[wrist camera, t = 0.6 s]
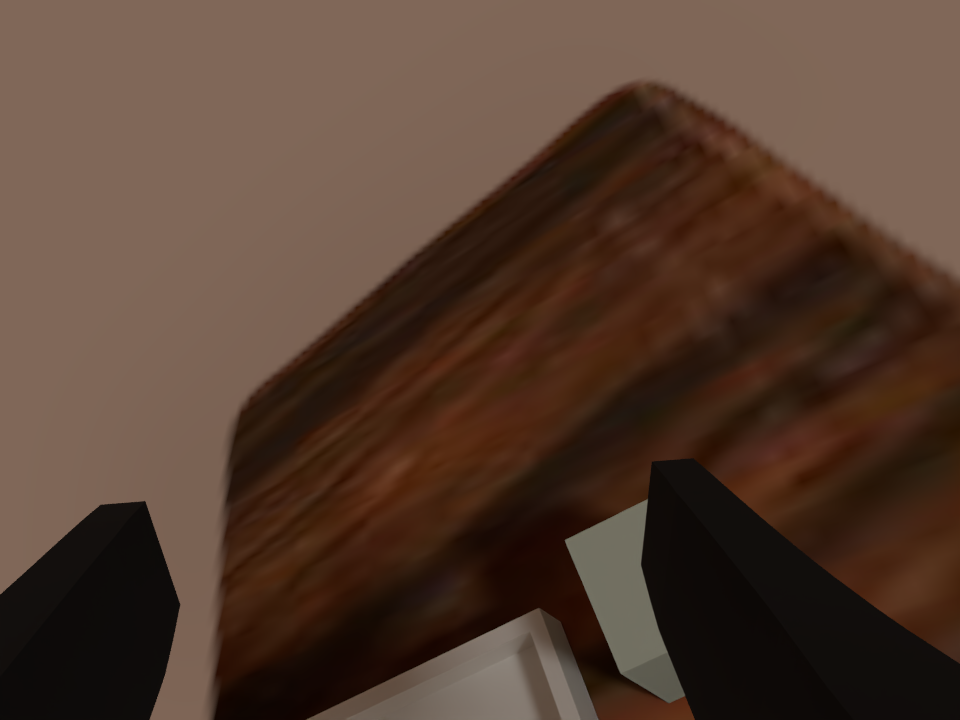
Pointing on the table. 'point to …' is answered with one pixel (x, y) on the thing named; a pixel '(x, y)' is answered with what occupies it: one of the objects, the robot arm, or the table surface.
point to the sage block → (625, 599)
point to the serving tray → (485, 681)
